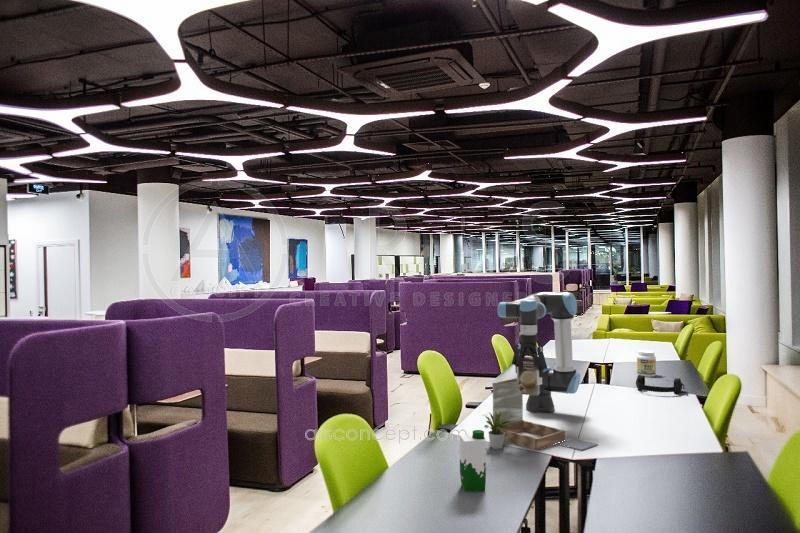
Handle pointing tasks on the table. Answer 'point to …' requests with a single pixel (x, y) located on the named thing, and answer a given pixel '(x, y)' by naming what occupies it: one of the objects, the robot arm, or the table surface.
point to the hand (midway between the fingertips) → (529, 382)
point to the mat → (578, 444)
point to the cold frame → (520, 417)
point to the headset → (676, 389)
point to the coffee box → (528, 376)
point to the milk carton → (473, 461)
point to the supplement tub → (646, 363)
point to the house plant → (497, 430)
